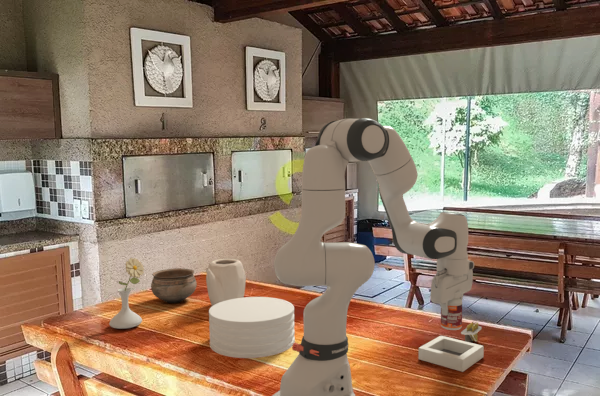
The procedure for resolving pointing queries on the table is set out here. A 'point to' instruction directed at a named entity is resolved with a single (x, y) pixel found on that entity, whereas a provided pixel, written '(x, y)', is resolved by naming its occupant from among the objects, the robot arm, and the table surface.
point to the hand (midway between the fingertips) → (451, 311)
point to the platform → (471, 332)
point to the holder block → (451, 353)
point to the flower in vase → (127, 316)
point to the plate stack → (251, 327)
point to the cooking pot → (173, 284)
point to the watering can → (225, 280)
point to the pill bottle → (453, 314)
